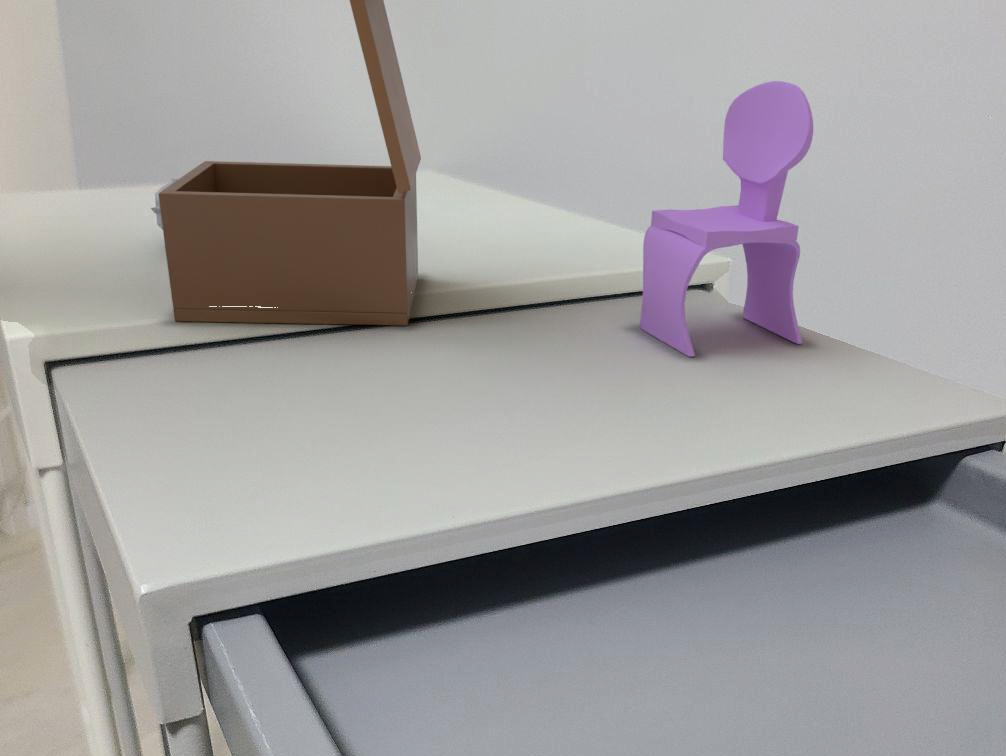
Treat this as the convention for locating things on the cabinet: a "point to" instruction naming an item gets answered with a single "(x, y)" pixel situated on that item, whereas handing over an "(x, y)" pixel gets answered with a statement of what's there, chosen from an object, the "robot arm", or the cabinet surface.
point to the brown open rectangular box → (290, 244)
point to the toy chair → (736, 221)
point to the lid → (387, 89)
